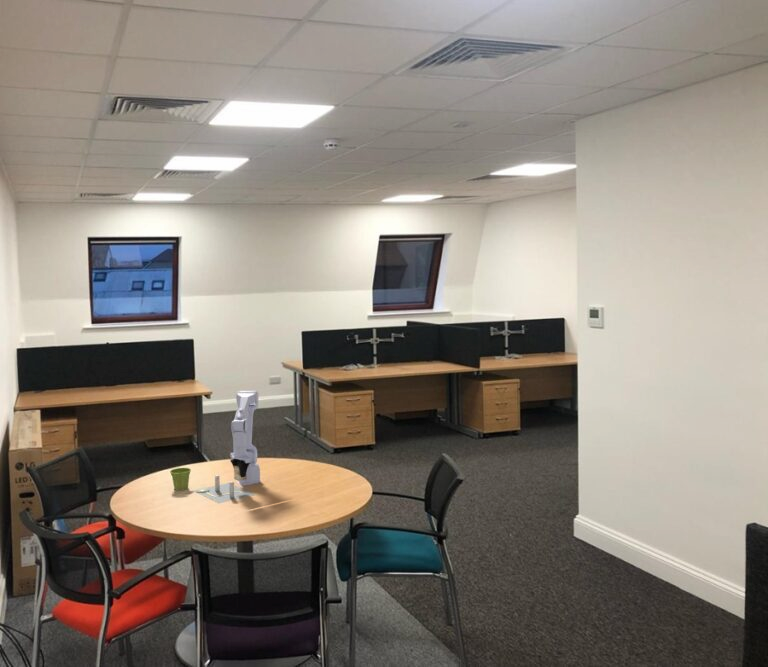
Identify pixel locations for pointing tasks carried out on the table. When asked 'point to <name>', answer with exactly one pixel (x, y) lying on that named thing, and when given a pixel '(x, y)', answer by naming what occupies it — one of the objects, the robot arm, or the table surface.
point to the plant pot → (180, 478)
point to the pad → (202, 490)
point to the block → (238, 474)
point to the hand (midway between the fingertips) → (240, 475)
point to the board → (225, 492)
